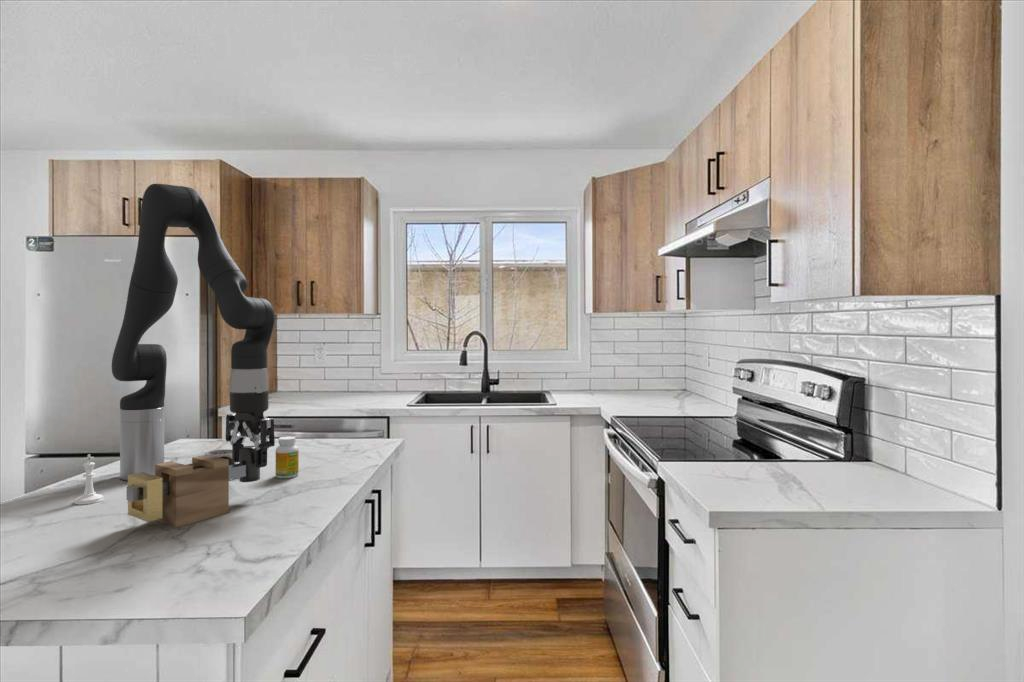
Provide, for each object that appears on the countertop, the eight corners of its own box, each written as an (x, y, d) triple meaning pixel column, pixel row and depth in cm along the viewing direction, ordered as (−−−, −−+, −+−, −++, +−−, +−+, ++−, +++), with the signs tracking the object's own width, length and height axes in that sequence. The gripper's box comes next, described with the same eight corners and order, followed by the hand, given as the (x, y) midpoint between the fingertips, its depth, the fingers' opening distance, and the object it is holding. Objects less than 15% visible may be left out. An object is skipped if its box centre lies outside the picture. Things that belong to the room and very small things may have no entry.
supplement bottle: (290, 479, 134) (290, 440, 134) (270, 478, 136) (270, 439, 135) (302, 474, 140) (302, 436, 140) (284, 472, 141) (284, 435, 141)
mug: (207, 484, 130) (207, 456, 130) (202, 478, 135) (202, 451, 135) (252, 477, 136) (252, 451, 136) (246, 472, 142) (246, 446, 141)
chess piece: (105, 501, 116) (105, 454, 116) (76, 506, 113) (76, 458, 113) (100, 496, 120) (100, 451, 120) (72, 501, 116) (72, 454, 116)
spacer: (127, 514, 101) (127, 474, 101) (142, 510, 103) (142, 472, 103) (147, 522, 97) (147, 480, 97) (162, 518, 99) (162, 477, 99)
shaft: (124, 506, 99) (124, 467, 99) (252, 476, 120) (252, 444, 120) (135, 510, 97) (134, 470, 97) (263, 478, 118) (263, 446, 118)
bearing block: (154, 519, 105) (154, 464, 105) (206, 505, 114) (206, 454, 113) (176, 527, 101) (176, 470, 101) (228, 512, 109) (228, 459, 109)
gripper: (213, 389, 118) (213, 463, 118) (252, 392, 110) (252, 472, 110) (246, 386, 124) (246, 457, 124) (285, 389, 116) (285, 465, 117)
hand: (249, 464), depth 117 cm, fingers open, 8 cm apart
